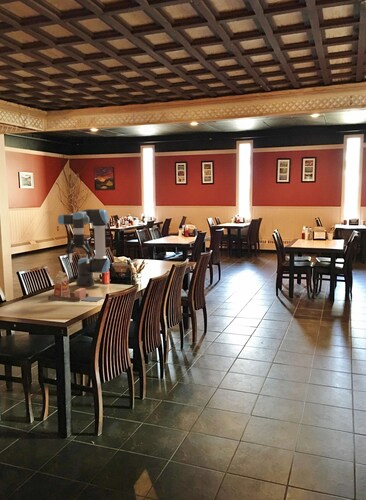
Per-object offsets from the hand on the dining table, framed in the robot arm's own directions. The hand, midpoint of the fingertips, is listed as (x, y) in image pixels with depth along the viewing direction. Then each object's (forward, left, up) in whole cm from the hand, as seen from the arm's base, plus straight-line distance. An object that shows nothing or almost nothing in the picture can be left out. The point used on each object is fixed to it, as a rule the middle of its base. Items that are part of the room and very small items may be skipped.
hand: (79, 263), depth 307 cm
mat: (0, +10, -27) cm, 28 cm away
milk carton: (0, -14, -27) cm, 30 cm away
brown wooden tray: (0, -9, -27) cm, 28 cm away
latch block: (0, 0, -27) cm, 27 cm away
